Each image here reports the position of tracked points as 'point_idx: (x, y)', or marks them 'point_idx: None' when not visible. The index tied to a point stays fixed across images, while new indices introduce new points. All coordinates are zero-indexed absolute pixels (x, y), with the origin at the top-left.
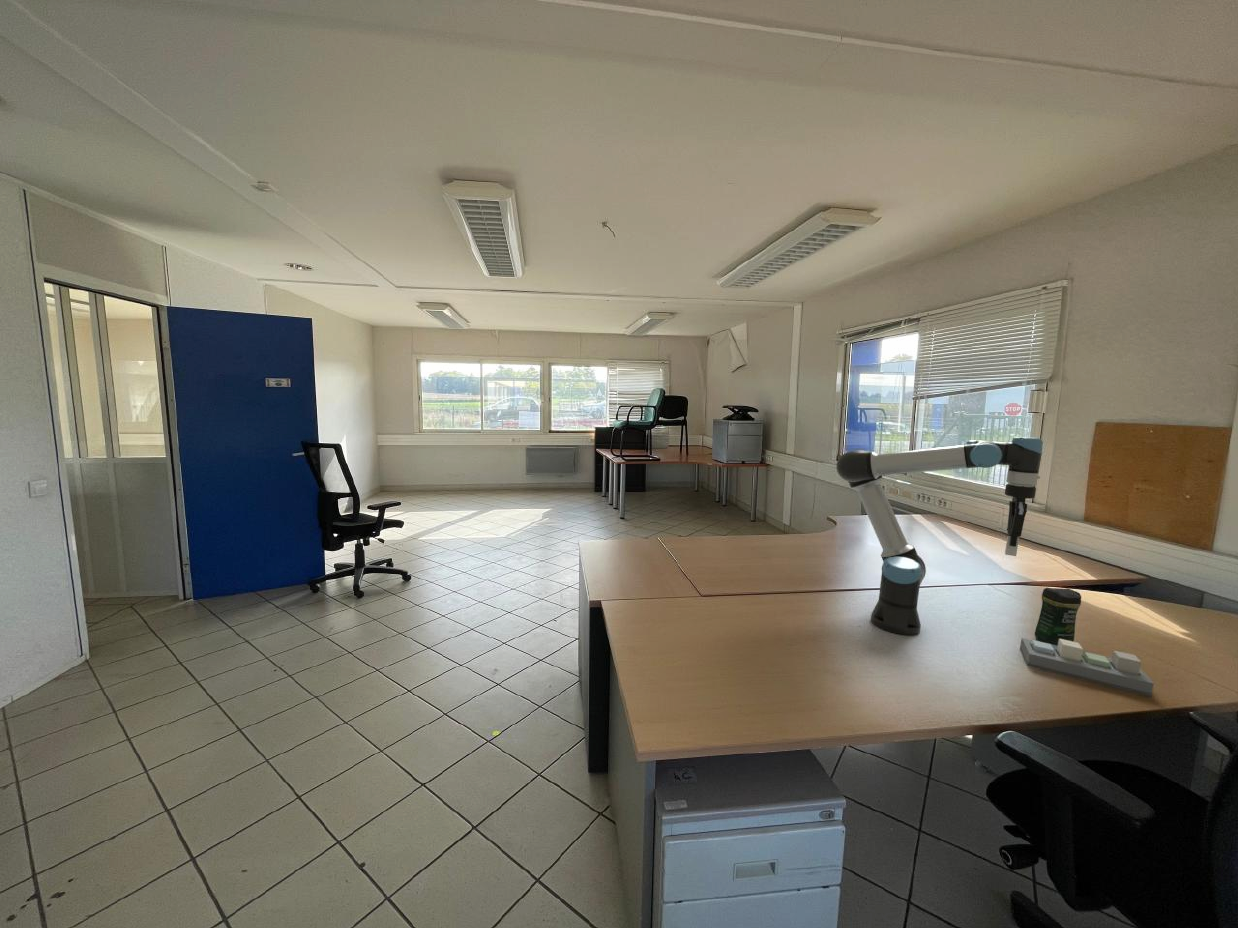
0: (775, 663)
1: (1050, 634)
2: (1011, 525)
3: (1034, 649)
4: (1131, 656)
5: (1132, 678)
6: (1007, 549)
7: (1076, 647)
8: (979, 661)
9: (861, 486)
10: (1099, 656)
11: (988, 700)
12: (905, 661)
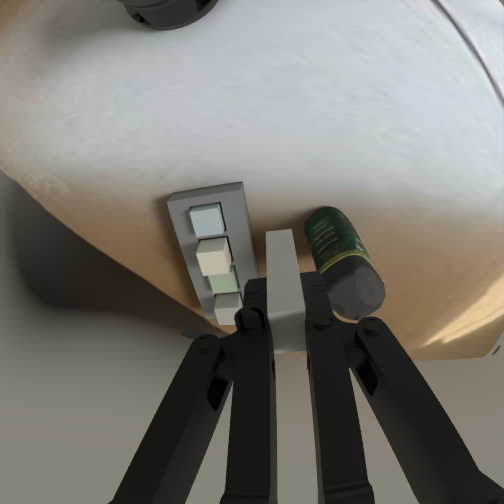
0: None
1: (308, 233)
2: (234, 400)
3: (192, 208)
4: (232, 320)
5: (200, 304)
6: (267, 252)
7: (201, 269)
8: (127, 133)
9: None
10: (230, 286)
11: (38, 167)
12: (49, 65)
